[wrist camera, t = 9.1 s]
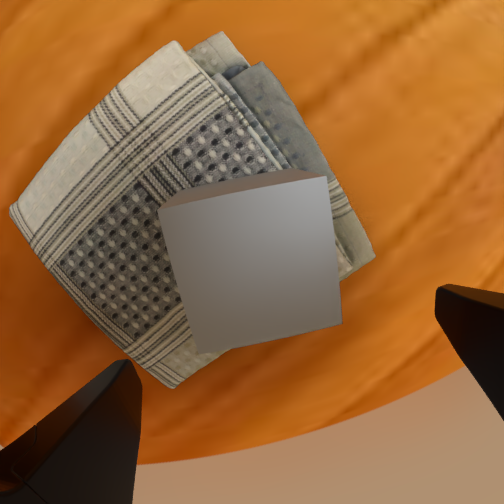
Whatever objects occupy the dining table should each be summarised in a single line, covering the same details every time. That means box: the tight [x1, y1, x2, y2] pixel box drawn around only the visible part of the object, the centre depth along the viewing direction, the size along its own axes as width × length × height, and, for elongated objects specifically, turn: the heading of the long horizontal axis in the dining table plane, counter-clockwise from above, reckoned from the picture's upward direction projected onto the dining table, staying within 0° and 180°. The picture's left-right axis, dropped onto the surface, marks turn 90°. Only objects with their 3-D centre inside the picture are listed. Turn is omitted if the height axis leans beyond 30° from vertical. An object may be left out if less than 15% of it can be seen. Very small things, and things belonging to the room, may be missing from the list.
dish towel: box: [9, 31, 376, 389], centre depth 18 cm, size 19×18×3 cm
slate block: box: [157, 168, 342, 354], centre depth 15 cm, size 6×6×6 cm
